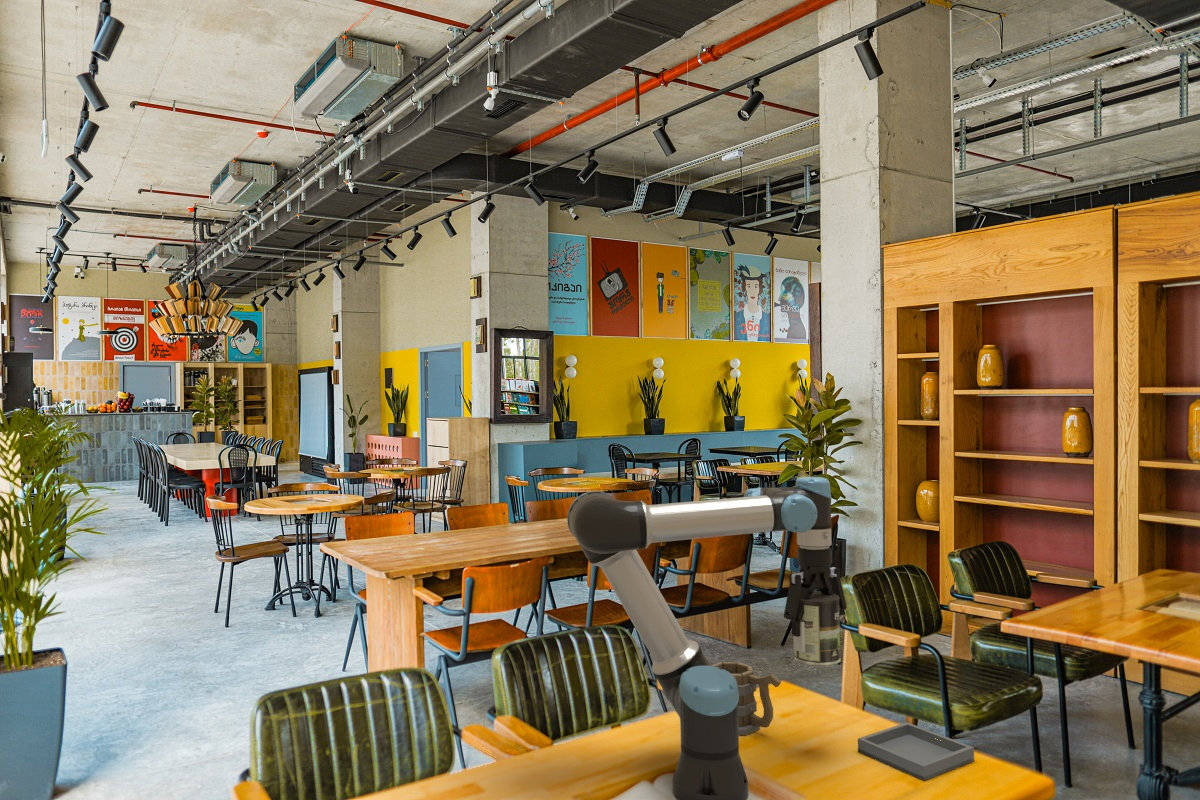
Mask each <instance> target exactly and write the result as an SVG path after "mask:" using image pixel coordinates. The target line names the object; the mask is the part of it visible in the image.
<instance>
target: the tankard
mask: <svg viewBox="0 0 1200 800" xmlns="http://www.w3.org/2000/svg"><path fill="white" fill-rule="evenodd" d="M710 665H711V666H714V667H718V668H720V669H724V670H726V671H728V672H729V673H731V674H732V675H733V676H734V678H735V679H736V682H737V687H738V692H739V702H738V724H739V735H746V736H748V734H749V735H751V734H753V733H754V732H755V733H756V732H758V731H759V730H761V728H769V727H770V725H771V722H772V721H773V719H774V707H773V703H772V700H771V696H770V688H769V684H771V685H772V686H774V688H778V687H780V686H781V683H782V681H781V680H780V678H778V677H777V675H775V674H774V673H771V674H768V675H764V676H759V675H758V676H757V675H754V670H753V667H752V666H751V665H749V664H746V663H742V662H739V661H738V662H737V661H721V662H716V663H713V664H710ZM757 685H758V688H759V689H758V691H759V698H760V701H761V704H762V708H763V715H762V717H761V716H758V715H757V714H755V713H757V710H758V709H757V705H758V703H757V701H756V698H755V695H754V693H756V692H757ZM750 733H751V734H750Z"/></svg>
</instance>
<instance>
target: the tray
mask: <svg viewBox="0 0 1200 800" xmlns="http://www.w3.org/2000/svg"><path fill="white" fill-rule="evenodd" d="M935 738H936V739H935ZM937 739H938V740H937ZM940 740H941V741H940ZM857 753H859V754H862V755H864V756H866V757H868V758H870V757H871V758H870V759H873V760H875V759H876V760H875V761H877V760H878V761H877V762H879V761H880V762H879V763H882V764H884V765H887V766H888V765H889V766H888V767H890V768H894V769H896V770H897V771H900V772H901V773H904V772H905V774H907V773H908V774H907V775H909V774H910V775H909V776H911V775H912V776H911V777H913V776H914V778H916V779H918V780H920V779H921V781H922V780H923V782H925V780H926V781H928V780H931V779H934V778H936V777H938V776H941V775H943V774H946V773H949V772H951V771H953V770H956V769H959V768H961V767H964V766H966V765H969V764H972V763H973V762H975V747H973V746H971V745H969V744H965V743H963V742H960V741H958V740H955V739H953V738H950V737H947V736H944V735H942V734H940V733H936V732H933V731H931V730H928V729H926V728H923V727H922V726H921V727H920V726H918V725H915V724H913V723H909V722H908V721H907V722H903V723H901V724H898V725H895V726H891V727H889V728H886V729H883V730H879V731H876V732H874V733H871V734H867V735H865V736H861V737H858V738H857Z"/></svg>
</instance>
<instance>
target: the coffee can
mask: <svg viewBox="0 0 1200 800" xmlns="http://www.w3.org/2000/svg"><path fill="white" fill-rule="evenodd" d="M799 603H804V615H803V618H802V620H801V621H803V622H805V652H800V651H797V650H794V649H793V659H794V661H796V662H798V663H800V664H804V665H808V666H817V667H825V666H826V667H829V666H834V665H838V664H839V663H841V660H842V659H841V639H840V638H841V636H840V635H841V634H840V632H841V631H840V630H841V629H840V628H841V627H840V626H841V624H839V603H840V602H839V596H838V595H836V594H833V595H825V594H822V593H821V591H818V590H817V591H816V590H814V592H813V594H811V595H810V598H809V600H804V599H799ZM796 616H797V614H796Z"/></svg>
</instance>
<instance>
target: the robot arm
mask: <svg viewBox="0 0 1200 800" xmlns="http://www.w3.org/2000/svg"><path fill="white" fill-rule="evenodd" d="M831 489H832V488H831V483H830V481H829V479H827V478H826V477H823V476H821V477H819V476H803V477H802V476H801V477H797V478H796V480H795V484H794V486H790V487H789V486H788V487H761V486H760V487H755V488H748V489H747V490H745V492H744V494H743V496H742V497H730V498H719V499H706V500H695V501H682V502H671V503H659V504H646V502H645V501H643V500H633V501H632V500H626V501H625V500H619V499H614V498H613V496H611V495H610V494H609V493H606V492H604V491H599V490H594V491H587V492H585V493H582V494H581V495H579V496H578V497H576V498H575V499H574V500H573V501H572V503H571V505H570V506H569V509H568V512H567V517H566V520H567V526H568V529H569V532H570V533H571V534H572V536H573V537H574V538H575V540H576V542H577V543H578V545H579V547H580V548H581V550H582V552H583V553H584V555H585V557H586V559H587V560H588V562H589V564H590V565H591V566H596V567H599V568H600V569H601V571H602V572H603V574H604V576H605V577H606V579H607V581H608V583H609V585H610V586H611V588H612V589H613V592H614V593H615V596H616V597H617V598H618V600H619V602H620V603H621V605H622V607H623V609H624V611H625V612H626V614H627V616H628V618H629V619H630V621H631V623H632V624H633V626H634V628H635V629H636V632H637V633H638V635H639V637H640V638H641V640H642V642H643V643H644V645H645V647H646V648H647V651H648V652H649V654H650V655H651V657H652V659H653V663H652V666H651V671H652V673H653V674H654V676H655V678H656V680H657V681H658V683H659V685H660V687H661V689H662V690H661V691H662V692H663V694H664V696H665V698H666V699H667V701H668V702H669V703H670V704H671V706H672V707H673V709H674V711H675V712H676V714H677V716H678V717H679V723H680V724H679V725H680V728H679V729H680V753H679V756H678V760H677V765H676V768H675V772H674V773H673V777H672V793H673V795H674V797H676V799H678V800H747V799H748V798H749V780H748V778H747V775H746V771H745V767H744V764H743V762H742V759H741V756H740V747H739V746H740V745H739V744H740V743H739V742H740V741H739V740H740V739H739V724H738V702H739V692H738V687H737V682H736V679H735V678H734V676H733V675H732V674H731V673H729V672H728V671H726V670H724V669H720V668H718V667H714V666H711V665H712V664H710V662H709V660H708V659H707V657H706V655H705V653H704V652H703V650H702V649H701V646H700V645H699V643H698V642H697V641H696V640H695V641H694V640H691V639H688V638H687V635H685V632H684V630H683V629H682V627H681V625H680V624H679V622H678V620H677V618H676V617H675V615H674V613H673V612H672V610H671V608H670V606H669V604H668V602H667V601H666V599H665V597H664V596H663V594H662V592H661V591H660V588H659V587H658V585H657V584H656V582H655V580H654V579H653V576H652V575H651V573H650V571H649V570H648V568H647V566H646V564H645V563H644V561H643V559H642V557H641V556H640V554H639V552H638V551H637V550H645V549H647V548H648V547H650V545H651V544H653V543H664V542H666V543H667V542H675V541H676V542H677V541H685V540H695V539H705V538H718V537H725V536H737V535H749V534H759V533H768V532H772V533H773V532H784V531H786V532H787V531H789V532H793V533H796V544H797V545H798V548H796V549H797V551H796V554H797V558H796V559H797V564H798V565H799V567H800V568H799V572H798V573H797V572H796V573H792V572H791V573H789V576H788V580H789V585H788V590H787V595H786V596H787V597H786V601H785V606H784V612H783V618H784V619H786V620H790V622H791V636H792V637H793V640H792V642H793V651H794V650H797V651H800V652H805V622H803V621H801V620H802V618H803V615H804V603H799V599H804V600H809V598H810V595H811V594H813V592H814V591H816V590H818V589H819V590H820V591H821V593H822V594H825V595H833V594H836V595H838V596H839V624H840V623H841V619H840V617H841V616H840V615H844V614H845V611H846V610H847V608H848V607H847V602H846V598H845V594H844V590H843V585H842V580H841V569H840V568H839V567H834V566H831V565H832V564H833V549H832V548H831V547H830V546H832V543H833V542H832V492H831V491H832V490H831ZM796 614H797V616H796ZM840 625H841V624H840Z"/></svg>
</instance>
